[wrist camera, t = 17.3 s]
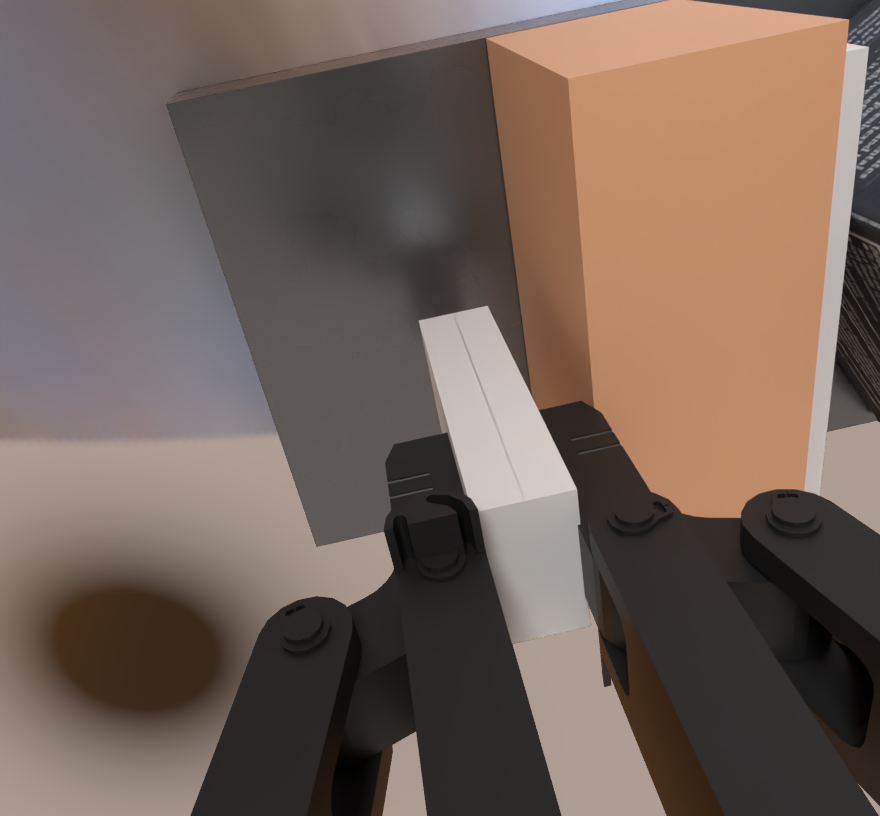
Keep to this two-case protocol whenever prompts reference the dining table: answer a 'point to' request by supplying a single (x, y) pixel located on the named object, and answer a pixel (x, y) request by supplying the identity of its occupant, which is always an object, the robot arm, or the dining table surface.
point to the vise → (372, 243)
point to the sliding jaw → (685, 233)
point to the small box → (864, 230)
